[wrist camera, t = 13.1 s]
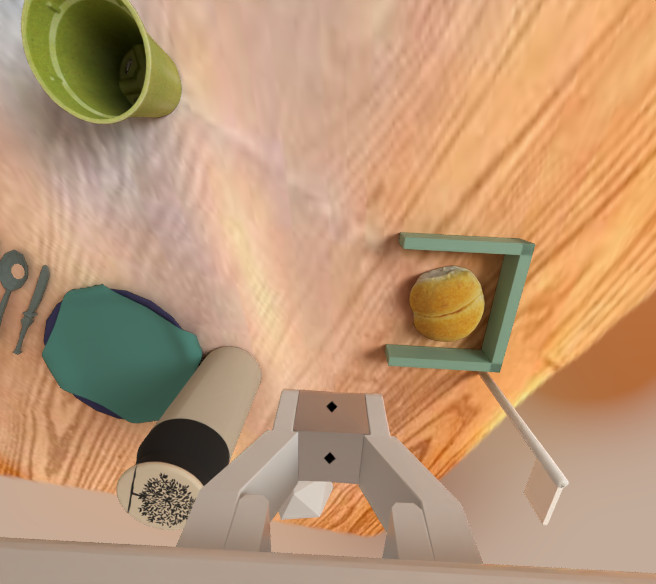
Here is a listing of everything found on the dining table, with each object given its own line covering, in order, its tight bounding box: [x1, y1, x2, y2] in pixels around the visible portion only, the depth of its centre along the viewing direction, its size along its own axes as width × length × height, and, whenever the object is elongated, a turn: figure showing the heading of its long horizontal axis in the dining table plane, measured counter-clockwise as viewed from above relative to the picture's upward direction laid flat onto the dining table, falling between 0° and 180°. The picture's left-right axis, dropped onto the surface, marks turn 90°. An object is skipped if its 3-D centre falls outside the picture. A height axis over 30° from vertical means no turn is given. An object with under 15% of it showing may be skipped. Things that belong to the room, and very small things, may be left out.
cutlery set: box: [0, 250, 202, 423], centre depth 41 cm, size 20×30×2 cm, turn 56°
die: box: [278, 479, 333, 520], centre depth 44 cm, size 8×9×10 cm
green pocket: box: [385, 232, 569, 525], centre depth 31 cm, size 22×13×16 cm, turn 177°
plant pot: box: [21, 0, 182, 124], centre depth 27 cm, size 9×9×9 cm
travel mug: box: [117, 347, 262, 530], centre depth 34 cm, size 8×8×18 cm
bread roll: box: [409, 266, 485, 342], centre depth 36 cm, size 8×9×4 cm
